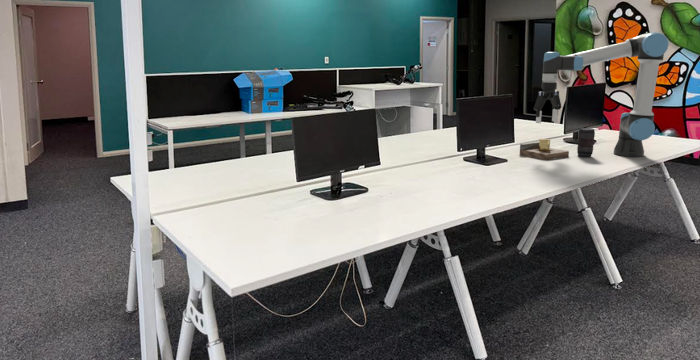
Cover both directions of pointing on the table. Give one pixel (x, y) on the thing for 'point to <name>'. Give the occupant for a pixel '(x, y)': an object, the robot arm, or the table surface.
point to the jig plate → (541, 152)
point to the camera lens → (585, 142)
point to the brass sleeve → (544, 145)
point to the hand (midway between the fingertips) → (546, 122)
